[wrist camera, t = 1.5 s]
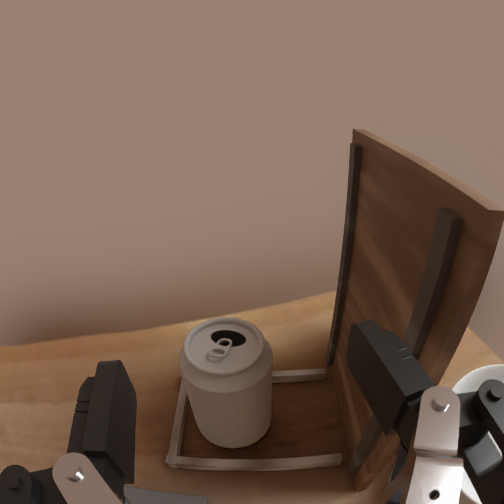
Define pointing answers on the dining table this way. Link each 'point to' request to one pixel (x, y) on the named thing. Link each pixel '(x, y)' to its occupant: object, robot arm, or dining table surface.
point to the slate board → (160, 497)
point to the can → (228, 380)
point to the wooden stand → (389, 291)
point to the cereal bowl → (471, 383)
